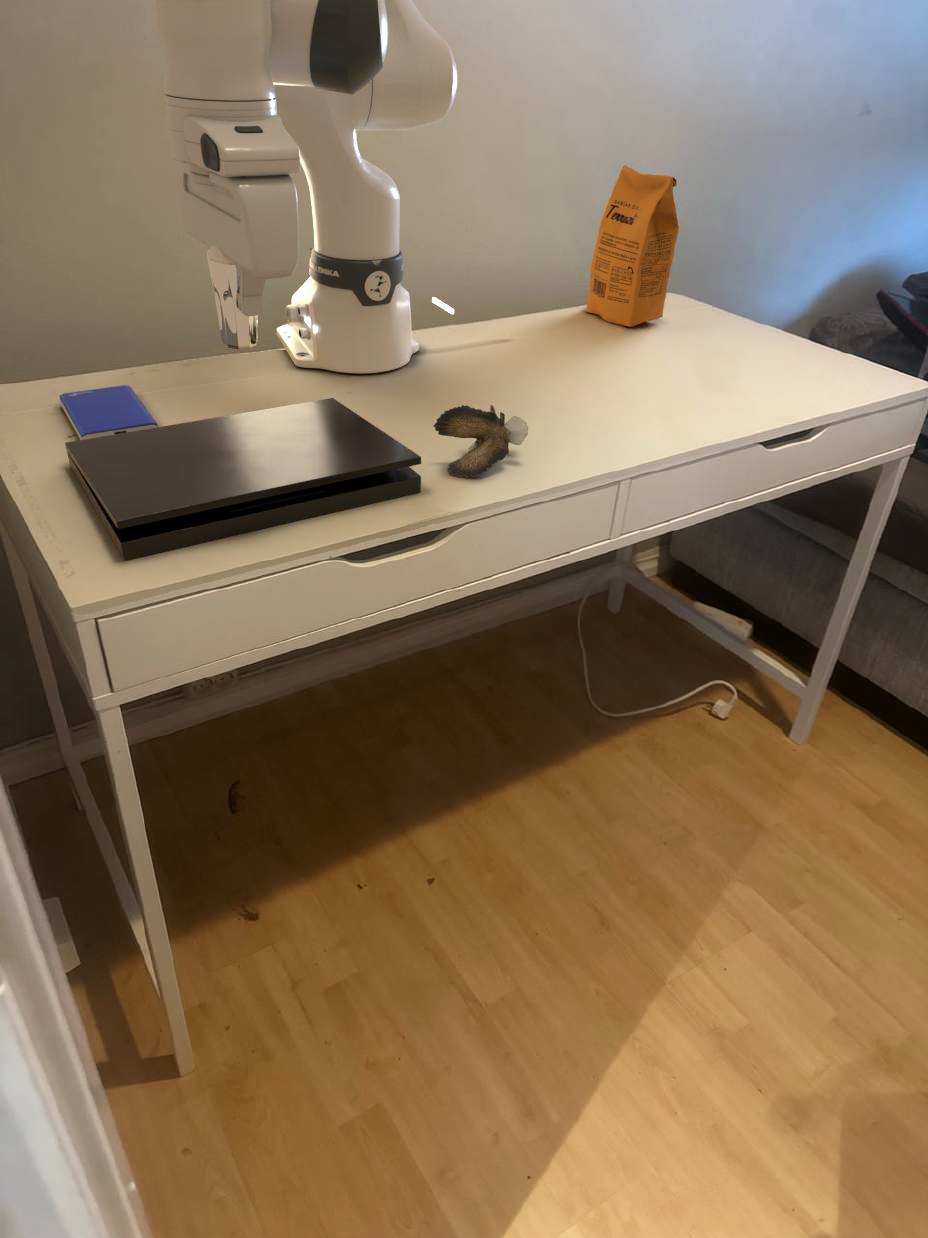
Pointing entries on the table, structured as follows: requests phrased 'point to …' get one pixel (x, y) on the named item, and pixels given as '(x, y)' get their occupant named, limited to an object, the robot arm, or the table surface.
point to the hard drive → (106, 412)
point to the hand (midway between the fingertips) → (240, 306)
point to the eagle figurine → (480, 437)
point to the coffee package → (634, 249)
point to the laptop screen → (232, 460)
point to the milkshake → (230, 303)
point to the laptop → (251, 512)
